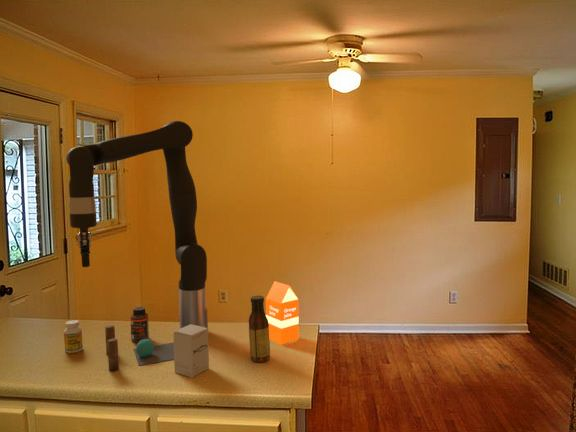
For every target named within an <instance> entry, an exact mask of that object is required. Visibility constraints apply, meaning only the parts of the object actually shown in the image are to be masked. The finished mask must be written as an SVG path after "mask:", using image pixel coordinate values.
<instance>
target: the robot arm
mask: <svg viewBox="0 0 576 432" xmlns="http://www.w3.org/2000/svg"><path fill="white" fill-rule="evenodd" d="M193 136H194V132H193V130H192V128H191V127H190V125H189V124H188V123H186V122H185V121H181V120H175V121H170V122H168V123H166V124H164V125H163V126H162V127H160V128H157V129H154V130H151V131H147V132H142V133H137V134H136V133H135V134H130V135H125V136H120V137H115V138H110V139H107V140H105V139H104V140H103V141H100V142H97V143H92V144H87V145H81V146H79V145H78V146H75V147H72V148H70V150H68V152H67V154H66V157H65V158H66V162H67V164H68V167H69V177H70V178H69V183H68V194H69V200H68V201H69V203H68V207H69V224H70V225H69V226H70V228H73V229H79V232H77V233H76V236H77V241H78V249H80V255H81V266H82V268H89V267H90V266H91V264H90V263H91V262H90V261H91V260H90V254H91V249H90V248H91V247H92V244H91V243H92V241H91V240H92V231H89V228H94V227H97V225H98V223H97V207H96V206H97V204H96V200H95V186H94V173H95V166H98V165H101V164H108V163H109V164H110V163H115V162H118V161H123V160H126V159H130V158H133V157H137V156H139V155H143V154H146V153H150V152H155V151H158V150H159V151H160V150H162V151H163V155H164V160H165V161H164V162H165V168H166V179H167V180H166V181H167V187H168V188H167V189H168V197H169V205H170V212H171V218H172V222H173V227H174V246H175V247H174V249H175V250H174V253H175V259H176V262H177V263H178V264H179V265H180V279H179V281H178V302H179V303H178V304H179V329H181V328H183V327H185V326H188V325H190V324H192V325H196V326H201V327H205V328H208V329H209V326H208V325H209V324H208V321H209V320H208V308H207V306H206V305H207V303H206V282H207V278H208V274H207V273H208V271H207V270H208V267H207V266H208V264H207V263H208V261H207V260H208V258H207V251H206V250H205V249H204V247H203V246H201V245H199V244H198V240H197V234H196V226H195V225H196V217H197V209H198V200H197V198H198V197H197V192H196V191H197V190H196V186H195V182H194V179H193V176H192V173H191V172H190V170H189V166H188V163H187V157H186V156H187V155H186V147H187V146H188V145H190V143H191V142H192V140H193Z"/></svg>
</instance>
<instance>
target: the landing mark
mask: <svg viewBox="0 0 576 432" xmlns="http://www.w3.org/2000/svg"><path fill="white" fill-rule="evenodd" d="M133 352H134V355H135V358H136V361H137V365H138V367H141V366H146V365H152V364H156V363H158V364H159V363H163V362H164V363H165V362H169V361H174V341H173V342H169V343H168V342H167V343H162V344H156V345H155V344H154V351H153V353H152V354H151V355H150V356H148V357H141V356H139V355H138V354H137V352H136V348H133Z"/></svg>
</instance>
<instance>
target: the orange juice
mask: <svg viewBox="0 0 576 432" xmlns="http://www.w3.org/2000/svg"><path fill="white" fill-rule="evenodd" d="M265 315H266V317H267V320H268V323H269V340H272V341H274V342H273V343H275V342H276V343H275V344H277V343H278V344H277V345H279V344H281V345H282V344H285V343H287V342H290V341H293V340H297V339H299V338H300V337H299V334H300V333H299V328H300V327H299V319H300V317H299V298H298V296H297V295H296V293H295V292H294V290H293V289H292V287H291V286H290V285H288V284H285V283H282V282H279V281H276V280H274V281H273V284H272V285H271V288H270V289H269V291H268V294H267V295H266V297H265ZM272 341H271V342H272ZM281 345H280V346H281Z"/></svg>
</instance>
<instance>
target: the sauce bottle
mask: <svg viewBox="0 0 576 432" xmlns="http://www.w3.org/2000/svg"><path fill="white" fill-rule="evenodd" d="M250 302H251V313H250V315H249V318H248V336H249V354H250V359H251V361H252V362H256V363H264V362H267V361H269V359H270V358H271V355H270V354H271V343H270V340H269V323H268V320H267V317H266V311H265V306H264V302H265V297H264V296H262V295H253V296H251V297H250Z"/></svg>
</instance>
